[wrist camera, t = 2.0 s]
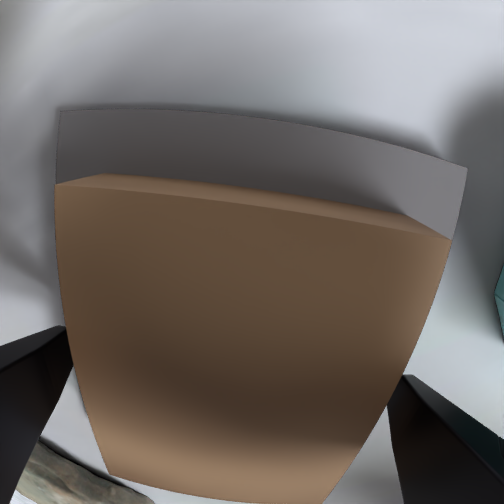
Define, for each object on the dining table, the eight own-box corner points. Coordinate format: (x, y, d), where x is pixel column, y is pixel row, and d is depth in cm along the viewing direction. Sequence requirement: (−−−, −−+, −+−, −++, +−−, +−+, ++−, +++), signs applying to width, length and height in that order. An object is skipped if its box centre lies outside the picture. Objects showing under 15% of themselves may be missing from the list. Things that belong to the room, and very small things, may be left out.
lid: (316, 460, 9) (321, 504, 8) (126, 433, 9) (109, 474, 7) (407, 215, 7) (451, 241, 5) (104, 172, 7) (54, 185, 5)
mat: (337, 460, 11) (341, 478, 10) (105, 427, 11) (97, 444, 10) (447, 165, 7) (468, 168, 6) (81, 113, 7) (60, 111, 6)
